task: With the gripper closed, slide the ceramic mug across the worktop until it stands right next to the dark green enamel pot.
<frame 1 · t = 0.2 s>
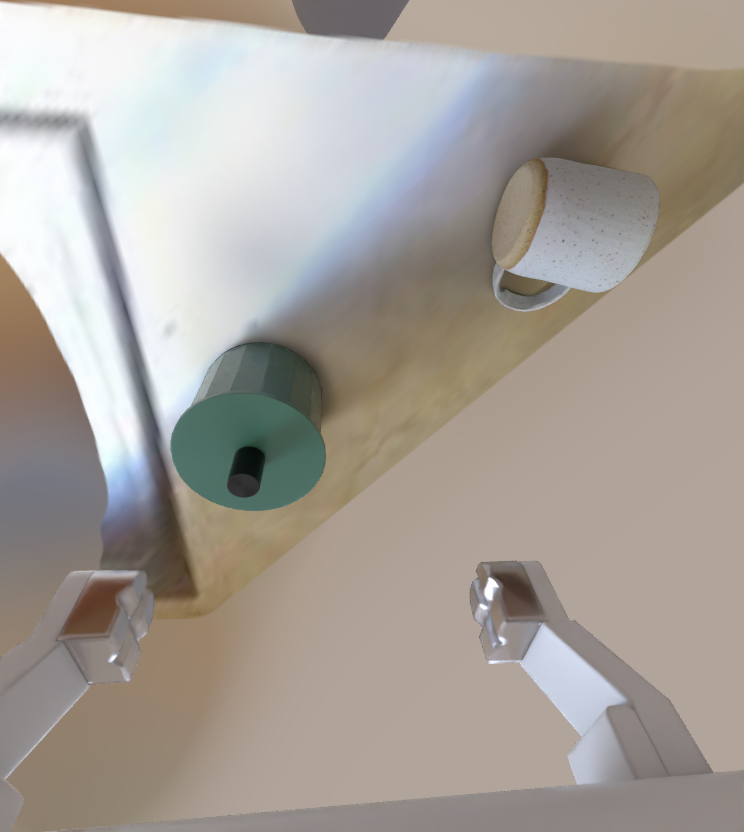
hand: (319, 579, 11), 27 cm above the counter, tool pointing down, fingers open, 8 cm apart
pot lid: (250, 453, 32), point 8 cm above the counter, touching pot
pot: (264, 394, 39), on the counter
ceramic mug: (538, 235, 33), on the counter
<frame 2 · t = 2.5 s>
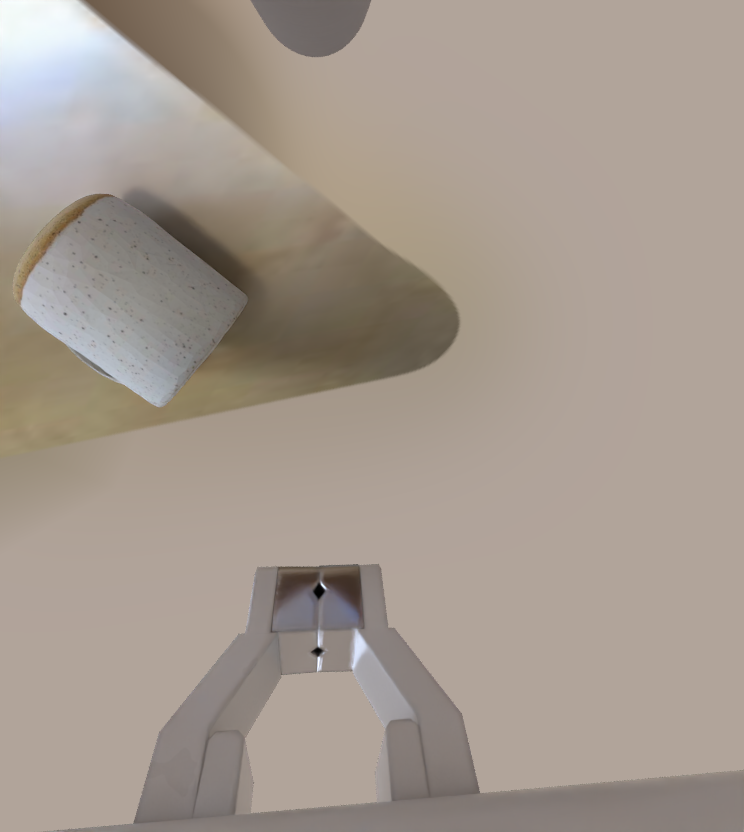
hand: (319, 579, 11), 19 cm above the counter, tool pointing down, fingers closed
ceramic mug: (156, 300, 25), on the counter
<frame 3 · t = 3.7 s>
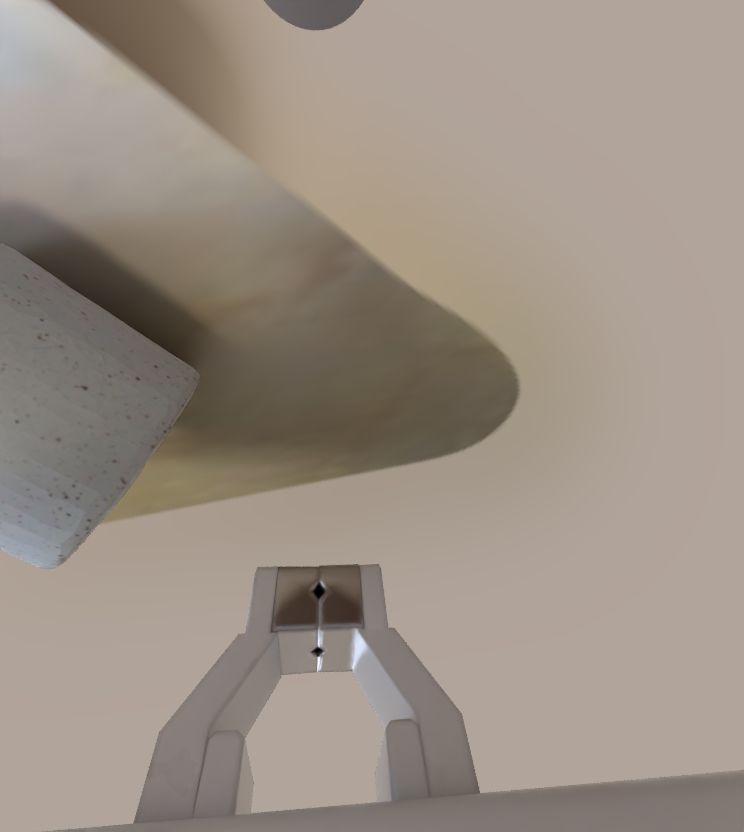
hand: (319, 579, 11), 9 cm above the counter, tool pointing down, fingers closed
ceramic mug: (68, 368, 17), on the counter
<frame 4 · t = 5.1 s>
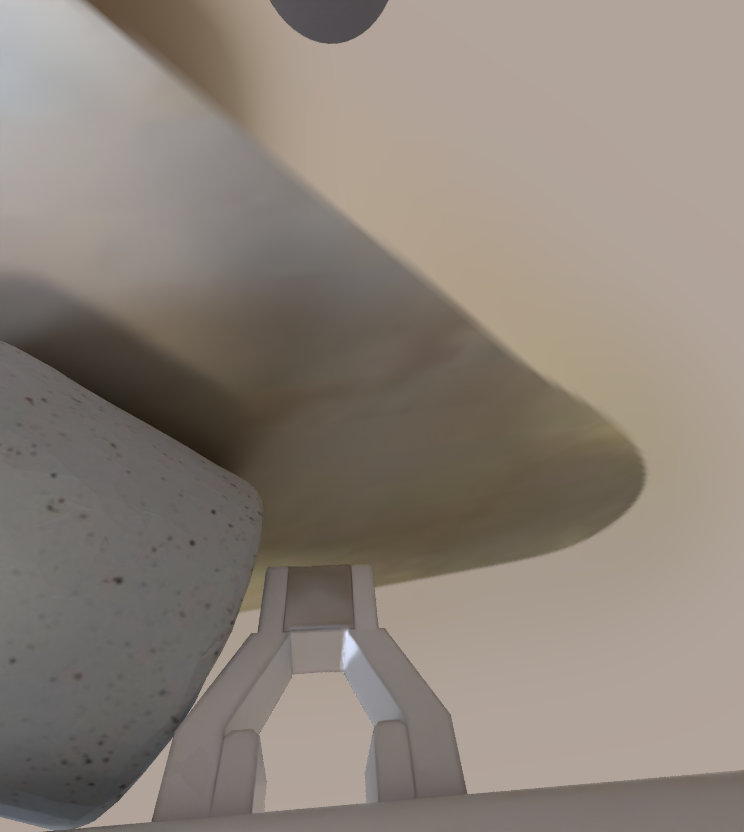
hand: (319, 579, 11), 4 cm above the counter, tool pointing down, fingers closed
ceramic mug: (80, 471, 13), on the counter, touching gripper
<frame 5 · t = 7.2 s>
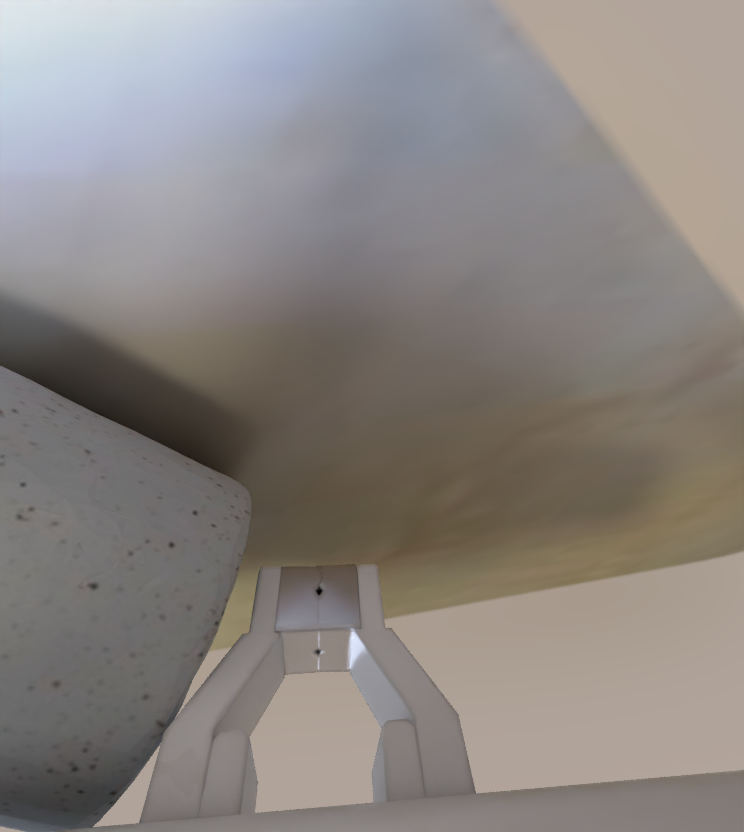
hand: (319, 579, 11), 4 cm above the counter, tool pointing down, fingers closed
ceramic mug: (79, 482, 13), on the counter, touching gripper
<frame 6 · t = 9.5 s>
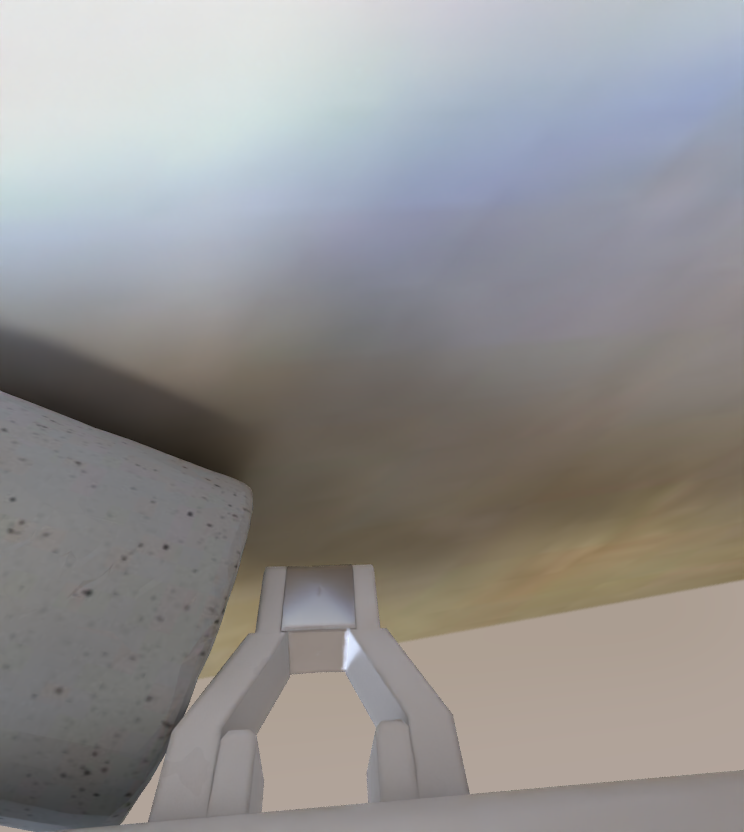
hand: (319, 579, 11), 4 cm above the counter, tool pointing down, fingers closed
ceramic mug: (96, 497, 13), on the counter, touching gripper, pot
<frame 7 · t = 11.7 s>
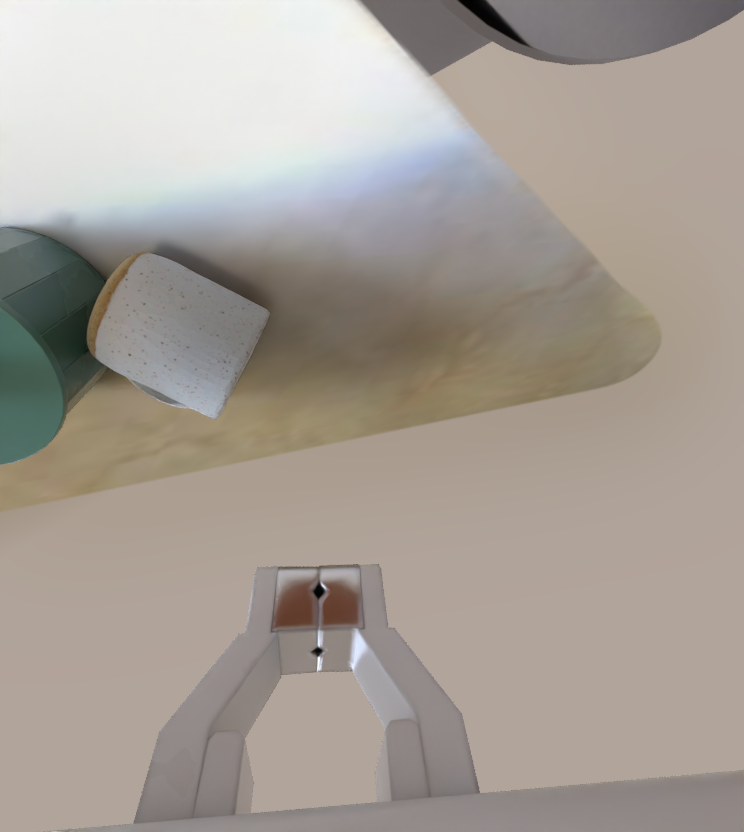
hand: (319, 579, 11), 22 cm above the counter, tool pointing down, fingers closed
pot: (38, 311, 28), on the counter
ceramic mug: (196, 331, 30), on the counter
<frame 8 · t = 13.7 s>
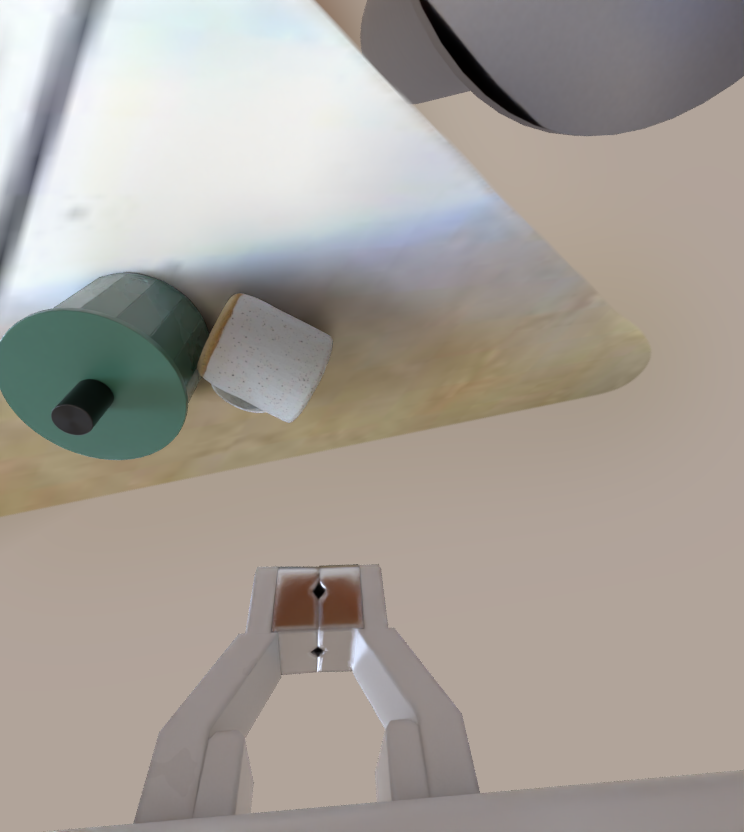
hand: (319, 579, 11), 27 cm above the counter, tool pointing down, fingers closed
pot lid: (98, 389, 28), point 8 cm above the counter, touching pot
pot: (145, 336, 35), on the counter
ceramic mug: (267, 350, 36), on the counter
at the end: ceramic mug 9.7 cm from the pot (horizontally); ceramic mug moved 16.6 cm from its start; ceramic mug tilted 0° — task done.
